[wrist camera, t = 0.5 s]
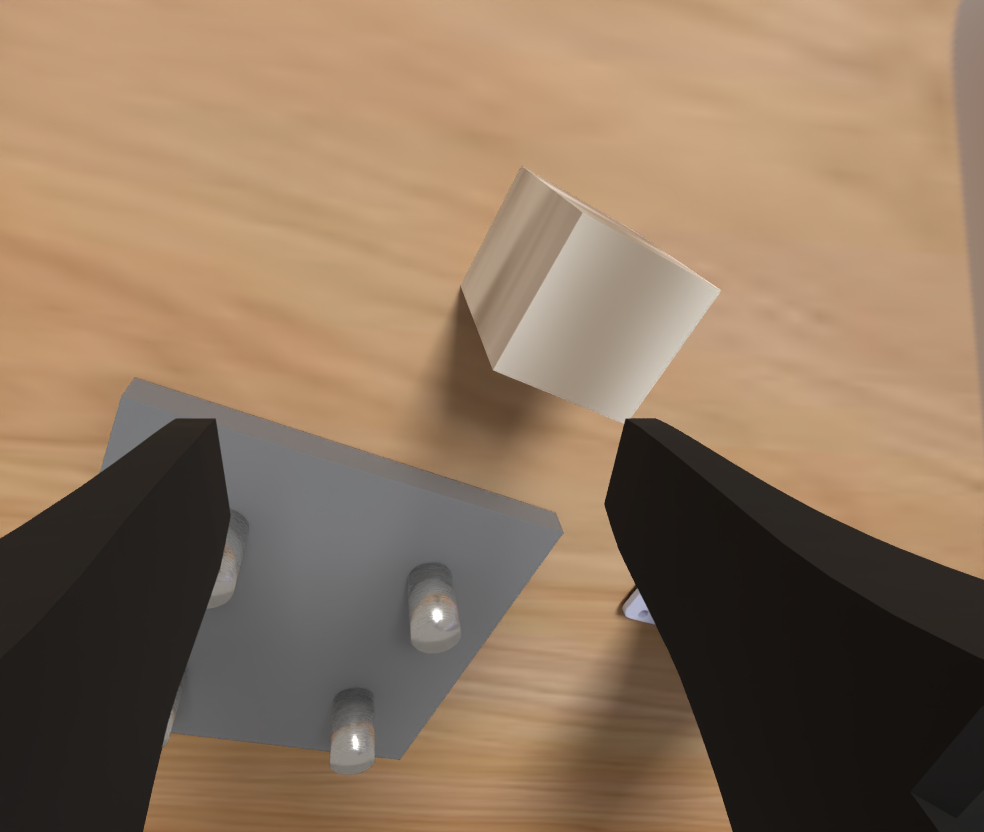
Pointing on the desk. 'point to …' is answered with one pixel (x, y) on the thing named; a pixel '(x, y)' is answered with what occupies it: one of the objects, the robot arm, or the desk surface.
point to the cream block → (579, 300)
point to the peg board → (337, 586)
